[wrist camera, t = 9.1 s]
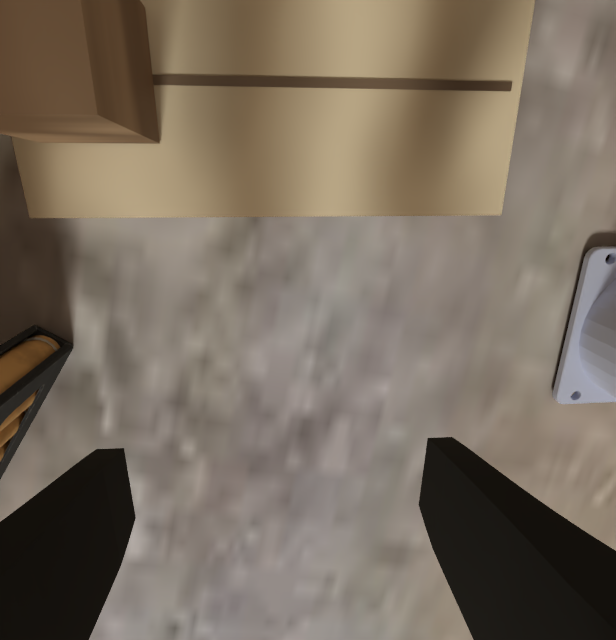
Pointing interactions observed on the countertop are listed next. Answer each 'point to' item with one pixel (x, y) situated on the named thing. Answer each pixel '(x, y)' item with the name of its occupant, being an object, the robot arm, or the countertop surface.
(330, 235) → the countertop surface
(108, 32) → the mallet
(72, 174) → the board
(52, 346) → the ammunition clip
